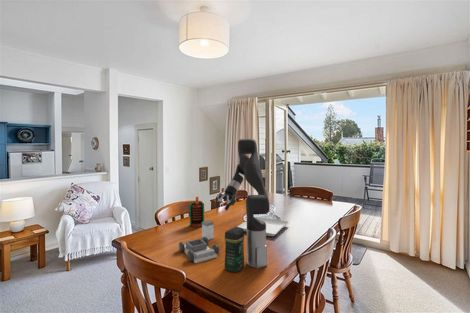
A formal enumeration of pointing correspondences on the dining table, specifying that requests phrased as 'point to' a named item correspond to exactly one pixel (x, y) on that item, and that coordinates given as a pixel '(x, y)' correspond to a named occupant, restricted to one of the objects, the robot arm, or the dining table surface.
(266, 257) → the robot arm
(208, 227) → the grey-topped square pillar
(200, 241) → the car chassis
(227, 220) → the dining table surface
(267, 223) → the square plate
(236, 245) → the coffee jar
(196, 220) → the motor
